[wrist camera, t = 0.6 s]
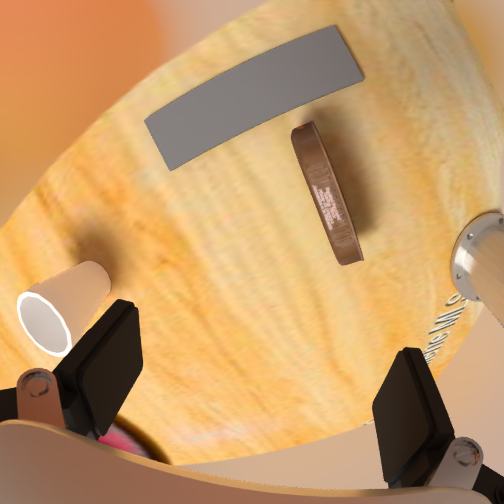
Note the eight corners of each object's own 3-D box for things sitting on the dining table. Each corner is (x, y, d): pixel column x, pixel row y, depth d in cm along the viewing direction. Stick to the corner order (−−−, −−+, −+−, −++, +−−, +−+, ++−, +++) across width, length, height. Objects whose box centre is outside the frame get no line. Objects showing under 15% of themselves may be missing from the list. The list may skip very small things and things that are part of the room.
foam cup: (82, 238, 42) (24, 276, 30) (129, 279, 43) (80, 330, 31) (63, 280, 45) (13, 321, 33) (105, 317, 46) (61, 367, 34)
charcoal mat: (333, 27, 28) (334, 25, 27) (362, 80, 30) (364, 79, 29) (147, 120, 34) (143, 120, 33) (173, 170, 36) (169, 171, 35)
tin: (359, 242, 37) (374, 272, 29) (334, 251, 38) (343, 283, 30) (313, 120, 32) (319, 117, 25) (286, 130, 33) (284, 130, 25)
